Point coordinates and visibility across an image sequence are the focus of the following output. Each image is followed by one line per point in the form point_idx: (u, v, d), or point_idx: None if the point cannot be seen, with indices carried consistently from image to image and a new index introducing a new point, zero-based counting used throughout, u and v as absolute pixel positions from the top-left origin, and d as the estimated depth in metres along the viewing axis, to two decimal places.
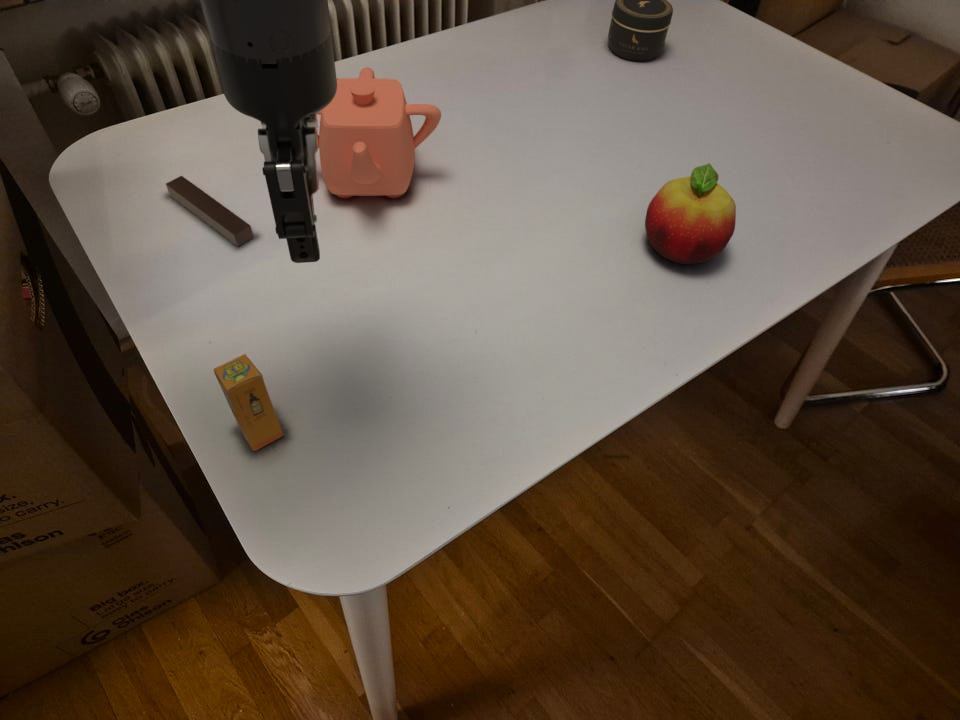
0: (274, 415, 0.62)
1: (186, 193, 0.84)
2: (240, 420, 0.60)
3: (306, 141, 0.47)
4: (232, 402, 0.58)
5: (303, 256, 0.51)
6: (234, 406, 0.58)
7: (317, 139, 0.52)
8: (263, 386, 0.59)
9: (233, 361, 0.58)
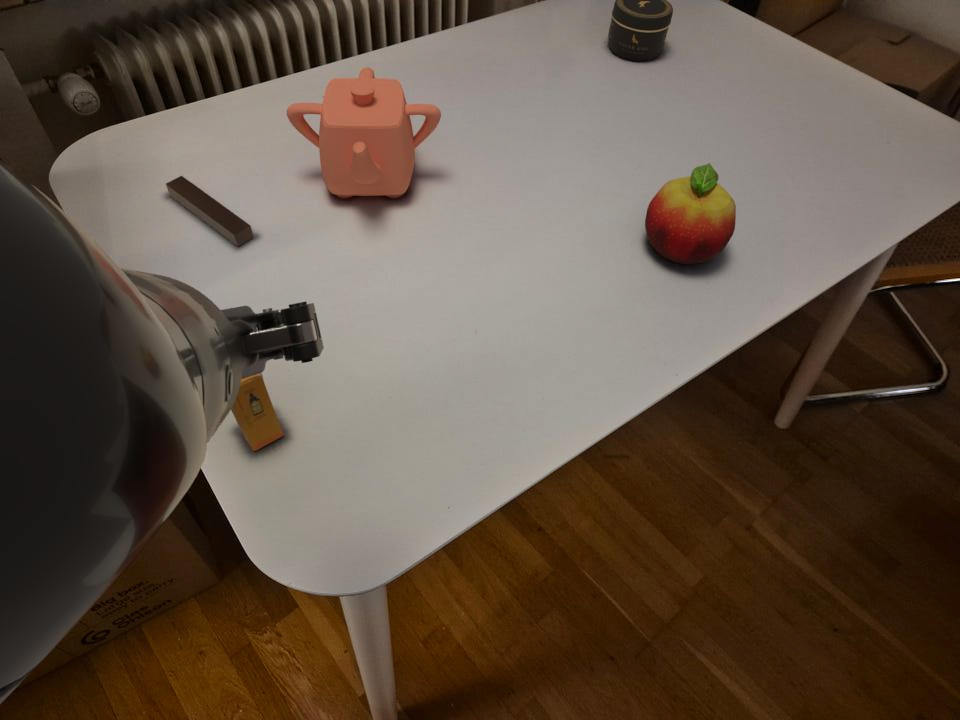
0: (274, 415, 0.62)
1: (186, 193, 0.84)
2: (240, 420, 0.60)
3: None
4: None
5: None
6: (234, 406, 0.58)
7: None
8: (263, 386, 0.59)
9: None
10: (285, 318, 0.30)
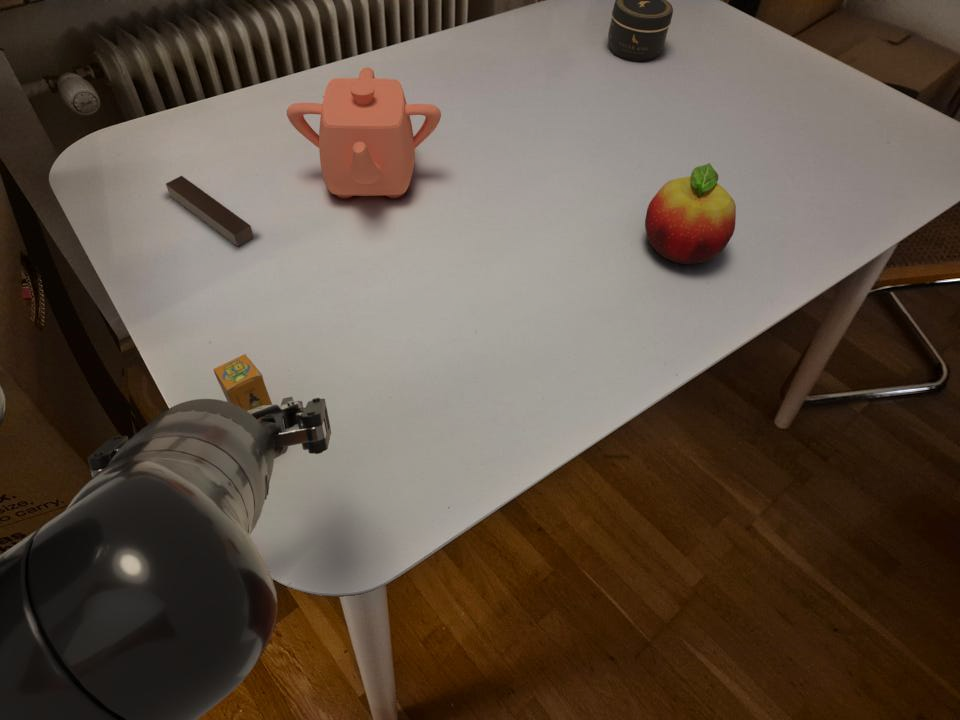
0: None
1: (186, 193, 0.84)
2: None
3: None
4: (232, 402, 0.58)
5: None
6: None
7: None
8: (263, 386, 0.59)
9: (233, 361, 0.58)
10: (304, 423, 0.42)
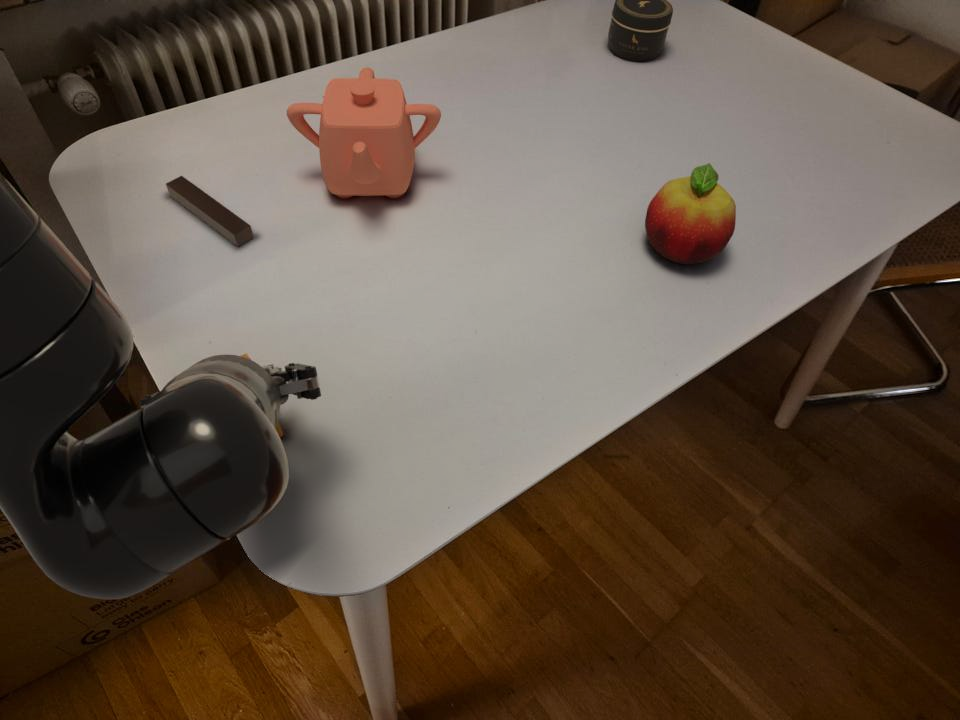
0: None
1: (186, 193, 0.84)
2: None
3: None
4: None
5: None
6: None
7: None
8: None
9: None
10: (304, 374, 0.53)
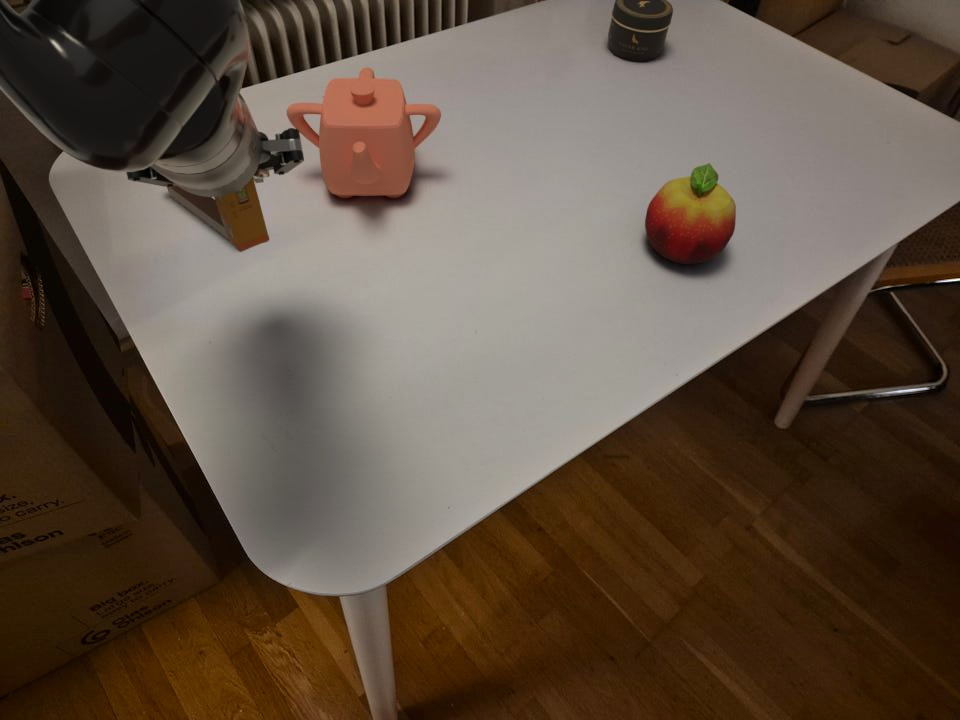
0: (260, 210, 0.62)
1: (186, 193, 0.84)
2: (225, 207, 0.60)
3: None
4: None
5: None
6: None
7: None
8: None
9: None
10: (287, 135, 0.53)
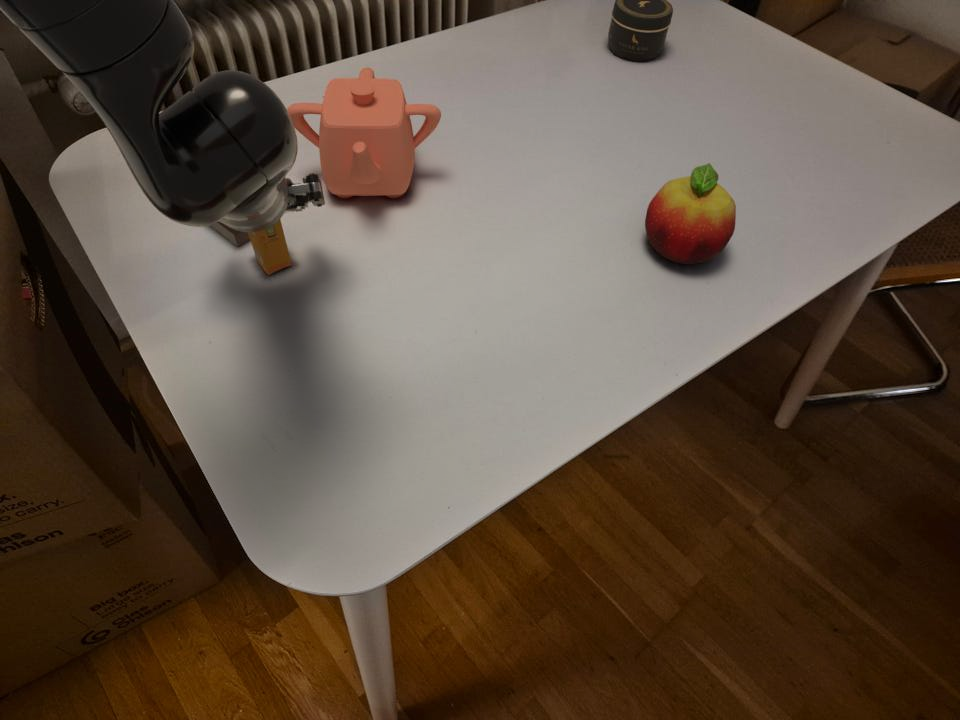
0: (284, 241, 0.77)
1: None
2: (257, 240, 0.74)
3: None
4: None
5: None
6: None
7: None
8: None
9: None
10: (307, 179, 0.66)
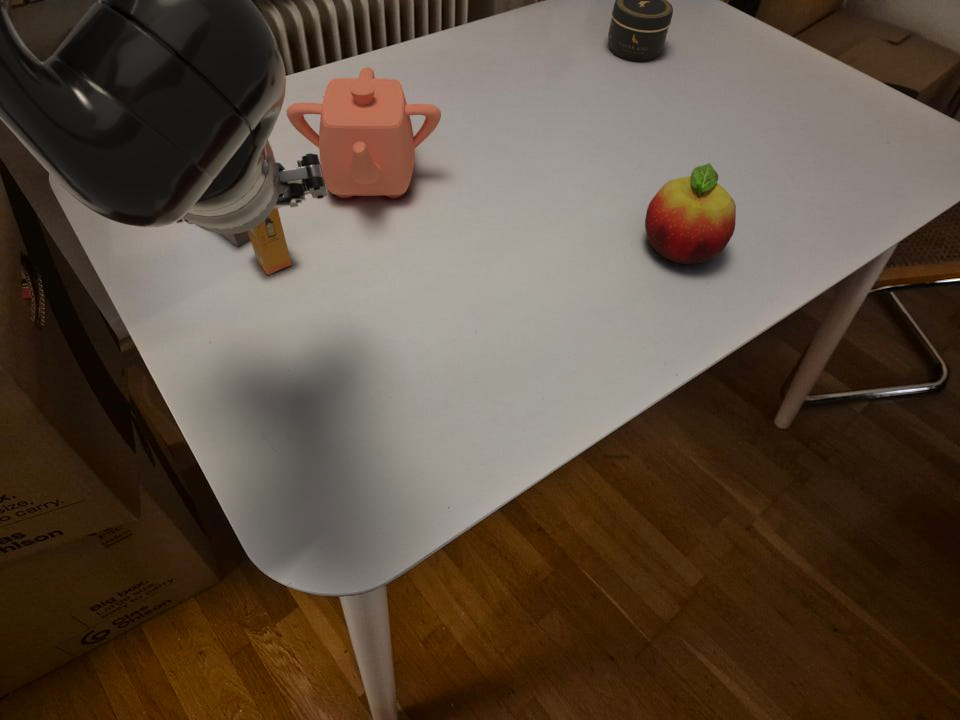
0: (284, 241, 0.77)
1: None
2: (257, 240, 0.74)
3: None
4: None
5: None
6: None
7: (276, 208, 0.54)
8: (276, 210, 0.73)
9: None
10: (304, 162, 0.50)
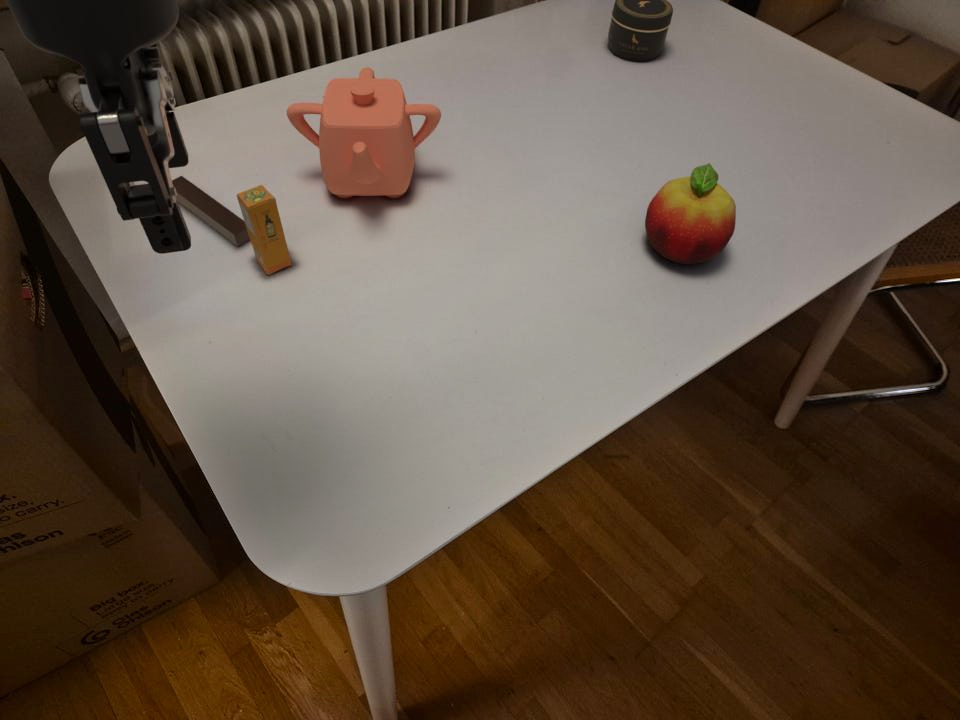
0: (284, 241, 0.77)
1: (186, 193, 0.84)
2: (257, 240, 0.74)
3: (147, 89, 0.35)
4: (251, 220, 0.72)
5: (167, 244, 0.39)
6: (253, 225, 0.73)
7: (172, 94, 0.41)
8: (276, 210, 0.73)
9: (252, 189, 0.73)
10: None
